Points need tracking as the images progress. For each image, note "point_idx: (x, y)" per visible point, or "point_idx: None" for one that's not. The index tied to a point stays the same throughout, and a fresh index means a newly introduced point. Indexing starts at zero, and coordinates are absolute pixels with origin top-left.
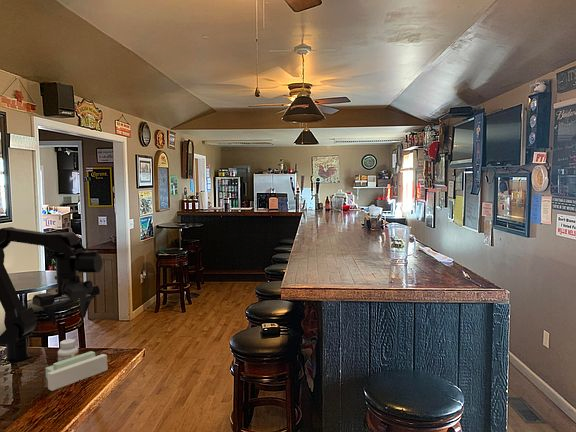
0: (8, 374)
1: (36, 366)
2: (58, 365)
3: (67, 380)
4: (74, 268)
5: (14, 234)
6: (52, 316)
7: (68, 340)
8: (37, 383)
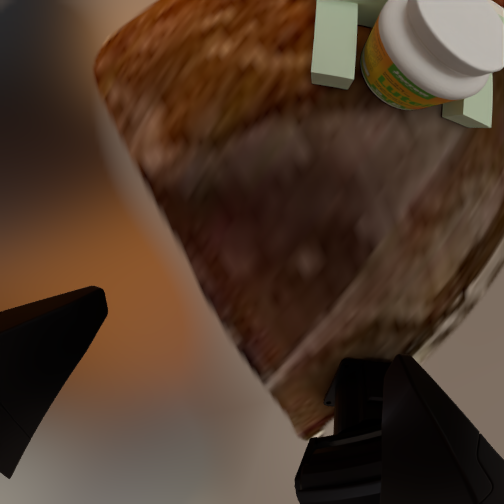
0: (473, 297)
1: (404, 274)
2: (500, 17)
3: None
4: None
5: None
6: (467, 431)
7: (458, 25)
8: (494, 127)
